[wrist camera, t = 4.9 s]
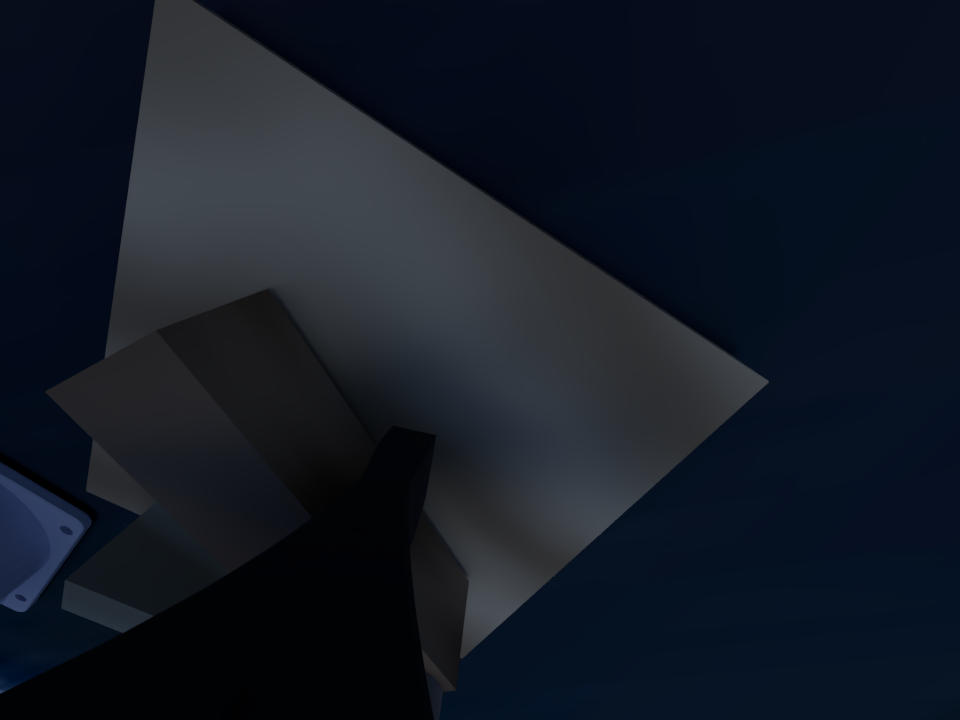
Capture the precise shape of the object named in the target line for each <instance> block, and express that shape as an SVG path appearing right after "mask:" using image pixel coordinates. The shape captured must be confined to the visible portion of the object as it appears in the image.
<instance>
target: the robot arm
mask: <svg viewBox="0 0 960 720" xmlns="http://www.w3.org/2000/svg"><path fill="white" fill-rule="evenodd" d="M435 439H436V435H433V434H429V433H424V432H420V431H415V430H410V429H406V428H401V427H397V426H393V427H392V428H391V429H390V430H389V431H388V432H387V433H386V434H385V436H384V437H383V438H382V439H381V441H380V442H379V444H378V446H377V447H376V449H375V451H374V453H373V455H372V457H371V459H370V461H369V463H368V465H367V467H366V469H365V471H364V473H363V475H362V477H361V479H359V480H358V481H357V482H356V483H355V484H354V485H353V486H351V487H350V488H349V489H348V490H347V491H345V492H344V493H343V494H342V495H340V496H339V497H338V498H337V499H335V500H334V501H333V502H332V503H330V504H329V505H328V506H327V507H325V508H324V509H323V510H322V511H320V512H319V513H318V514H316V515H315V516H314V517H312V518H311V519H310V520H308V521H307V522H306V523H304V524H303V525H301V526H300V527H299V528H297V529H296V530H294V531H293V532H292V533H290V534H289V535H287V536H286V537H284V538H283V539H281V540H280V541H278V542H277V543H276V544H274V545H273V546H271V547H270V548H268V549H266V550H265V551H263V552H262V553H260V554H259V555H257V556H255V557H254V558H252V559H251V560H249V561H248V562H246V563H244V564H243V565H241V566H240V567H238V568H237V569H235V570H233V571H232V572H230V573H229V574H227V575H225V576H224V577H222V578H220V579H219V580H217V581H215V582H214V583H212V584H210V585H208V586H207V587H205V588H203V589H202V590H200V591H198V592H196V593H194V594H193V595H191V596H189V597H187V598H185V599H184V600H182V601H180V602H178V603H176V604H174V605H173V606H171V607H169V608H167V609H165V610H164V611H162V612H160V613H158V614H156V615H155V616H153V617H151V618H149V619H147V620H146V621H144V622H142V623H140V624H138V625H136V626H135V627H133V628H131V629H129V630H127V631H125V632H124V633H122V634H120V635H118V636H116V637H114V638H112V639H110V640H108V641H106V642H104V643H102V644H100V645H98V646H96V647H94V648H92V649H90V650H88V651H86V652H84V653H82V654H80V655H78V656H76V657H74V658H72V659H70V660H68V661H66V662H64V663H62V664H60V665H58V666H56V667H54V668H52V669H50V670H48V671H46V672H44V673H42V674H40V675H37V676H35V677H33V678H31V679H29V680H27V681H25V682H23V683H21V684H19V685H17V686H15V687H13V688H11V689H9V690H7V691H5V692H3V693H1V694H0V720H434V717H433V711H432V706H431V701H430V695H429V690H428V685H427V679H426V674H425V667H424V661H423V654H422V648H421V641H420V635H419V628H418V622H417V615H416V607H415V598H414V589H413V580H412V569H411V556H410V546H411V544H412V541H413V538H414V536H415V533H416V530H417V526H418V523H419V519H420V516H421V512H422V509H423V505H424V502H425V498H426V494H427V488H428V482H429V476H430V470H431V464H432V458H433V452H434V446H435ZM91 523H92V520H91V518H90V516H89V515H88V514H87V513H85V512H84V511H82V510H80V509H79V508H77V507H75V506H74V505H72V504H70V503H69V502H67V501H65V500H64V499H62V498H60V497H59V496H57V495H55V494H54V493H52V492H50V491H49V490H47V489H45V488H44V487H42V486H40V485H39V484H37V483H35V482H34V481H32V480H30V479H29V478H27V477H25V476H24V475H22V474H20V473H19V472H17V471H15V470H14V469H12V468H10V467H9V466H7V465H5V464H4V463H2V462H0V604H3V605H5V606H7V607H9V608H11V609H13V610H15V611H18V612H24V611H26V610H28V609H29V608H30V607H31V606H32V605H33V604H34V603H35V602H36V601H37V599H38V598H39V596H40V595H41V594H42V592H43V591H44V589H45V588H46V587H47V585H48V584H49V582H50V581H51V580H52V578H53V577H54V576H55V574H56V573H57V571H58V570H59V569H60V567H61V566H62V564H63V563H64V562H65V560H66V559H67V557H68V556H69V555H70V553H71V552H72V550H73V549H74V548H75V546H76V545H77V544H78V542H79V541H80V539H81V538H82V537H83V535H84V534H85V532H86V531H87V530H88V528H89V527H90V525H91Z"/></svg>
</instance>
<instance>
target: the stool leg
mask: <svg viewBox="0 0 960 720" xmlns="http://www.w3.org/2000/svg"><path fill="white" fill-rule="evenodd" d="M45 392H46V393H47V394H48V395H49V396H50V397H51V398H52V399H53V400H54V401H55V402H56V403H57V404H58V405H59V406H60V407H61V408H62V409H63V410H64V411H65V412H66V413H67V414H68V415H69V416H70V417H71V418H72V419H73V420H74V421H75V422H76V423H77V424H78V425H79V426H80V427H81V428H82V429H83V430H84V431H85V432H86V433H87V434H88V435H89V436H90V437H92V438H93V439H94V440H95V441H96V442H97V443H98V444H99V445H100V446H101V447H102V448H103V449H104V450H105V451H106V452H107V453H108V454H109V455H110V456H111V457H112V458H113V459H114V460H115V461H116V462H117V463H118V464H119V465H120V466H121V467H122V468H123V469H124V470H125V471H126V472H127V473H128V474H129V475H130V476H131V477H132V478H133V479H134V480H135V481H136V482H137V483H138V484H139V485H140V486H141V487H142V488H143V489H144V490H146V491H147V492H148V493H149V494H150V495H151V496H152V497H153V498H154V499H155V500H156V501H157V502H158V503H159V504H160V505H161V506H162V507H163V508H164V509H165V510H166V511H167V512H168V513H169V514H170V515H171V516H172V517H173V518H174V519H175V520H176V521H177V522H178V523H179V524H180V525H181V526H182V527H183V528H184V529H185V530H186V531H187V532H188V533H189V534H190V535H191V536H192V537H193V538H194V539H195V540H196V541H197V542H198V543H200V544H201V545H202V546H203V547H204V548H205V549H206V550H207V551H208V552H209V553H210V554H211V555H212V556H213V557H214V558H215V559H216V560H217V561H218V562H219V563H220V564H221V565H222V566H223V567H224V568H225V569H226V570H227V571H228V572H229V573H230V572H232V571H233V570H235V569H237V568H238V567H240V566H241V565H243V564H244V563H246V562H248V561H249V560H251V559H252V558H254V557H255V556H257V555H259V554H260V553H262V552H263V551H265V550H266V549H268V548H270V547H271V546H273V545H274V544H276V543H277V542H278V541H280V540H281V539H283V538H284V537H286V536H287V535H289V534H290V533H292V532H293V531H294V530H296V529H297V528H299V527H300V526H301V525H303V524H304V523H306V522H307V521H308V520H310V519H311V518H312V517H314V516H315V515H316V514H318V513H319V512H320V511H322V510H323V509H324V508H325V507H327V506H328V505H329V504H330V503H332V502H333V501H334V500H335V499H337V498H338V497H339V496H340V495H342V494H343V493H344V492H345V491H347V490H348V489H349V488H350V487H351V486H353V485H354V484H355V483H356V482H357V481H358V480H359V479H361V477H362V475H363V473H364V471H365V469H366V467H367V465H368V463H369V461H370V459H371V457H372V455H373V453H374V451H375V449H376V445H375V444H374V442H373V441H372V439H371V438H370V436H369V435H368V433H367V432H366V430H365V429H364V428H363V426H362V425H361V423H360V422H359V420H358V419H357V417H356V416H355V414H354V413H353V412H352V410H351V409H350V407H349V406H348V404H347V403H346V401H345V400H344V398H343V397H342V395H341V394H340V393H339V391H338V390H337V388H336V387H335V385H334V384H333V382H332V381H331V379H330V378H329V377H328V375H327V374H326V372H325V371H324V369H323V368H322V366H321V365H320V363H319V362H318V360H317V359H316V358H315V356H314V355H313V353H312V352H311V350H310V349H309V347H308V346H307V344H306V343H305V342H304V340H303V339H302V337H301V336H300V334H299V333H298V331H297V330H296V328H295V327H294V325H293V324H292V323H291V321H290V320H289V318H288V317H287V315H286V314H285V312H284V311H283V309H282V308H281V306H280V305H279V304H278V302H277V301H276V299H275V298H274V296H273V295H272V293H271V292H270V290H269V289H265V290H262V291H260V292H257V293H254V294H252V295H249V296H246V297H244V298H241V299H238V300H236V301H233V302H230V303H228V304H225V305H222V306H220V307H217V308H214V309H211V310H209V311H206V312H203V313H201V314H198V315H195V316H193V317H190V318H187V319H185V320H182V321H179V322H177V323H174V324H171V325H168V326H166V327H163V328H160V329H158V330H155V331H153V332H152V333H150V334H148V335H146V336H144V337H143V338H141V339H139V340H137V341H135V342H134V343H132V344H130V345H128V346H126V347H125V348H123V349H121V350H119V351H117V352H116V353H114V354H112V355H110V356H108V357H107V358H105V359H103V360H101V361H99V362H98V363H96V364H94V365H92V366H90V367H89V368H87V369H85V370H83V371H81V372H80V373H78V374H76V375H74V376H72V377H71V378H69V379H67V380H65V381H63V382H62V383H60V384H58V385H56V386H54V387H53V388H51V389H49V390H47V391H45ZM410 556H411V569H412V580H413V589H414V598H415V607H416V615H417V622H418V628H419V635H420V641H421V648H422V654H423V661H424V667H425V674H426V679H427V685H428V690H429V695H430V701H431V706H432V711H433V717H434V720H439V715H440V708H441V701H442V695H443V692H446V691H453V690H456V686H457V677H458V669H459V661H460V652H461V644H462V636H463V627H464V619H465V611H466V602H467V594H468V586H469V581H468V579H467V578H466V576H465V575H464V573H463V572H462V571H461V569H460V568H459V566H458V565H457V563H456V562H455V560H454V559H453V557H452V556H451V554H450V553H449V552H448V550H447V549H446V547H445V546H444V544H443V543H442V541H441V540H440V538H439V537H438V536H437V534H436V533H435V531H434V530H433V528H432V527H431V525H430V524H429V522H428V521H427V519H426V518H425V517H424V515H423V514H422V512H421V516H420V519H419V523H418V526H417V530H416V533H415V536H414V538H413V541H412V544H411V546H410Z"/></svg>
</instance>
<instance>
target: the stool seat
mask: <svg viewBox="0 0 960 720" xmlns="http://www.w3.org/2000/svg"><path fill="white" fill-rule="evenodd" d="M265 289H269V290H270V292H271V293H272V295H273V296H274V298H275V299H276V301H277V302H278V304H279V305H280V306H281V308H282V309H283V311H284V312H285V314H286V315H287V317H288V318H289V320H290V321H291V323H292V324H293V325H294V327H295V328H296V330H297V331H298V333H299V334H300V336H301V337H302V339H303V340H304V342H305V343H306V344H307V346H308V347H309V349H310V350H311V352H312V353H313V355H314V356H315V358H316V359H317V360H318V362H319V363H320V365H321V366H322V368H323V369H324V371H325V372H326V374H327V375H328V377H329V378H330V379H331V381H332V382H333V384H334V385H335V387H336V388H337V390H338V391H339V393H340V394H341V395H342V397H343V398H344V400H345V401H346V403H347V404H348V406H349V407H350V409H351V410H352V412H353V413H354V414H355V416H356V417H357V419H358V420H359V422H360V423H361V425H362V426H363V428H364V429H365V430H366V432H367V433H368V435H369V436H370V438H371V439H372V441H373V442H374V444H375V445H376V447H377V446H378V444H379V442H380V441H381V439H382V438H383V437H384V436H385V434H386V433H387V432H388V431H389V430H390V429H391V428H392V427H393V426H397V427H401V428H406V429H410V430H415V431H420V432H424V433H429V434H433V435H436V439H435V446H434V452H433V458H432V464H431V470H430V476H429V482H428V488H427V494H426V498H425V502H424V505H423V509H422V514H423V515H424V517H425V518H426V519H427V521H428V522H429V524H430V525H431V527H432V528H433V530H434V531H435V533H436V534H437V536H438V537H439V538H440V540H441V541H442V543H443V544H444V546H445V547H446V549H447V550H448V552H449V553H450V554H451V556H452V557H453V559H454V560H455V562H456V563H457V565H458V566H459V568H460V569H461V571H462V572H463V573H464V575H465V576H466V578H467V579H468V581H469V586H468V594H467V602H466V611H465V619H464V627H463V636H462V644H461V652H460V658H463V657H464V656H465V655H466V654H468V653H469V652H470V651H471V650H472V649H473V648H474V647H475V646H476V645H478V644H479V643H480V642H481V641H482V640H483V639H484V638H485V637H486V636H488V635H489V634H490V633H491V632H492V631H493V630H494V629H495V628H496V627H498V626H499V625H500V624H501V623H502V622H503V621H504V620H505V619H506V618H508V617H509V616H510V615H511V614H512V613H513V612H514V611H515V610H516V609H518V608H519V607H520V606H521V605H522V604H523V603H524V602H525V601H526V600H528V599H529V598H530V597H531V596H532V595H533V594H534V593H535V592H536V591H538V590H539V589H540V588H541V587H542V586H543V585H544V584H545V583H546V582H547V581H549V580H550V579H551V578H552V577H553V576H554V575H555V574H556V573H557V572H559V571H560V570H561V569H562V568H563V567H564V566H565V565H566V564H567V563H569V562H570V561H571V560H572V559H573V558H574V557H575V556H576V555H577V554H579V553H580V552H581V551H582V550H583V549H584V548H585V547H586V546H587V545H589V544H590V543H591V542H592V541H593V540H594V539H595V538H596V537H597V536H599V535H600V534H601V533H602V532H603V531H604V530H605V529H606V528H607V527H609V526H610V525H611V524H612V523H613V522H614V521H615V520H616V519H617V518H618V517H620V516H621V515H622V514H623V513H624V512H625V511H626V510H627V509H628V508H630V507H631V506H632V505H633V504H634V503H635V502H636V501H637V500H638V499H640V498H641V497H642V496H643V495H644V494H645V493H646V492H647V491H648V490H650V489H651V488H652V487H653V486H654V485H655V484H656V483H657V482H658V481H660V480H661V479H662V478H663V477H664V476H665V475H666V474H667V473H668V472H670V471H671V470H672V469H673V468H674V467H675V466H676V465H677V464H678V463H680V462H681V461H682V460H683V459H684V458H685V457H686V456H687V455H688V454H689V453H691V452H692V451H693V450H694V449H695V448H696V447H697V446H698V445H699V444H701V443H702V442H703V441H704V440H705V439H706V438H707V437H708V436H709V435H711V434H712V433H713V432H714V431H715V430H716V429H717V428H718V427H719V426H721V425H722V424H723V423H724V422H725V421H726V420H727V419H728V418H729V417H731V416H732V415H733V414H734V413H735V412H736V411H737V410H738V409H739V408H741V407H742V406H743V405H744V404H745V403H746V402H747V401H748V400H749V399H751V398H752V397H753V396H754V395H755V394H756V393H757V392H758V391H759V390H760V389H762V388H763V387H764V386H765V385H766V384H767V383H768V382H769V381H767V380H766V379H765V378H763V377H762V376H761V375H759V374H758V373H757V372H755V371H754V370H752V369H751V368H750V367H748V366H747V365H746V364H744V363H743V362H741V361H740V360H739V359H737V358H736V357H735V356H733V355H732V354H730V353H729V352H727V351H725V350H724V349H722V348H721V347H719V346H718V345H716V344H715V343H713V342H712V341H710V340H709V339H707V338H706V337H704V336H703V335H701V334H700V333H698V332H697V331H695V330H694V329H692V328H691V327H689V326H688V325H686V324H685V323H683V322H682V321H680V320H679V319H677V318H676V317H674V316H673V315H671V314H670V313H668V312H667V311H665V310H664V309H662V308H661V307H659V306H658V305H656V304H655V303H653V302H652V301H650V300H648V299H647V298H645V297H644V296H642V295H641V294H639V293H638V292H636V291H635V290H633V289H632V288H630V287H629V286H627V285H626V284H624V283H623V282H621V281H620V280H618V279H617V278H615V277H614V276H612V275H611V274H609V273H608V272H606V271H605V270H603V269H602V268H600V267H599V266H597V265H596V264H594V263H593V262H591V261H590V260H588V259H587V258H585V257H584V256H582V255H581V254H579V253H578V252H576V251H575V250H573V249H571V248H570V247H568V246H567V245H565V244H564V243H562V242H561V241H559V240H558V239H556V238H555V237H553V236H552V235H550V234H549V233H547V232H546V231H544V230H543V229H541V228H540V227H538V226H537V225H535V224H534V223H532V222H531V221H529V220H528V219H526V218H525V217H523V216H522V215H520V214H519V213H517V212H516V211H514V210H513V209H511V208H510V207H508V206H507V205H505V204H504V203H502V202H501V201H499V200H498V199H496V198H494V197H493V196H491V195H490V194H488V193H487V192H485V191H484V190H482V189H481V188H479V187H478V186H476V185H475V184H473V183H472V182H470V181H469V180H467V179H466V178H464V177H463V176H461V175H460V174H458V173H457V172H455V171H454V170H452V169H451V168H449V167H448V166H446V165H445V164H443V163H442V162H440V161H439V160H437V159H436V158H434V157H433V156H431V155H430V154H428V153H427V152H425V151H424V150H422V149H421V148H419V147H417V146H416V145H414V144H413V143H411V142H410V141H408V140H407V139H405V138H404V137H402V136H401V135H399V134H398V133H396V132H395V131H393V130H392V129H390V128H389V127H387V126H386V125H384V124H383V123H381V122H380V121H378V120H377V119H375V118H374V117H372V116H371V115H369V114H368V113H366V112H365V111H363V110H362V109H360V108H359V107H357V106H356V105H354V104H353V103H351V102H350V101H348V100H347V99H345V98H344V97H342V96H340V95H339V94H337V93H336V92H334V91H333V90H331V89H330V88H328V87H327V86H325V85H324V84H322V83H321V82H319V81H318V80H316V79H315V78H313V77H312V76H310V75H309V74H307V73H306V72H304V71H303V70H301V69H300V68H298V67H297V66H295V65H294V64H292V63H291V62H289V61H288V60H286V59H285V58H283V57H282V56H280V55H279V54H277V53H276V52H274V51H273V50H271V49H270V48H268V47H266V46H265V45H263V44H262V43H260V42H259V41H257V40H256V39H254V38H253V37H251V36H250V35H248V34H247V33H245V32H244V31H242V30H241V29H239V28H238V27H236V26H235V25H233V24H232V23H230V22H229V21H227V20H226V19H224V18H223V17H221V16H220V15H218V14H216V13H215V12H213V11H212V10H210V9H208V8H207V7H205V6H203V5H202V4H200V3H199V2H197V1H195V0H155V5H154V13H153V20H152V27H151V34H150V41H149V48H148V55H147V62H146V69H145V76H144V83H143V90H142V98H141V105H140V112H139V119H138V126H137V133H136V140H135V147H134V154H133V161H132V168H131V175H130V182H129V190H128V197H127V204H126V211H125V218H124V225H123V232H122V239H121V246H120V253H119V260H118V267H117V275H116V282H115V289H114V296H113V303H112V310H111V317H110V324H109V331H108V338H107V345H106V352H105V358H107V357H108V356H110V355H112V354H114V353H116V352H117V351H119V350H121V349H123V348H125V347H126V346H128V345H130V344H132V343H134V342H135V341H137V340H139V339H141V338H143V337H144V336H146V335H148V334H150V333H152V332H153V331H155V330H158V329H160V328H163V327H166V326H168V325H171V324H174V323H177V322H179V321H182V320H185V319H187V318H190V317H193V316H195V315H198V314H201V313H203V312H206V311H209V310H211V309H214V308H217V307H220V306H222V305H225V304H228V303H230V302H233V301H236V300H238V299H241V298H244V297H246V296H249V295H252V294H254V293H257V292H260V291H262V290H265ZM86 491H87V492H89V493H92V494H94V495H96V496H98V497H101V498H103V499H105V500H107V501H110V502H112V503H114V504H116V505H119V506H121V507H123V508H125V509H128V510H130V511H132V512H134V513H137V514H139V515H141V516H139V517H138V518H137V519H136V520H135V521H134V522H132V523H131V524H130V525H129V526H128V527H126V528H125V529H124V530H123V531H122V532H121V533H119V534H118V535H117V536H116V537H115V538H114V539H112V540H111V541H110V542H109V543H108V544H107V545H105V546H104V547H103V548H102V549H101V550H99V551H98V552H97V553H96V554H95V555H94V556H92V557H91V558H90V559H89V560H88V561H87V562H85V563H84V564H83V565H82V566H81V567H80V568H78V569H77V570H76V571H75V572H74V573H72V574H71V575H70V576H69V577H68V578H67V579H65V584H64V592H63V600H62V609H64V610H67V611H69V612H72V613H74V614H77V615H79V616H82V617H84V618H87V619H89V620H92V621H94V622H97V623H99V624H102V625H104V626H107V627H110V628H112V629H115V630H117V631H120V632H122V633H124V632H125V631H127V630H129V629H131V628H133V627H135V626H136V625H138V624H140V623H142V622H144V621H146V620H147V619H149V618H151V617H153V616H155V615H156V614H158V613H160V612H162V611H164V610H165V609H167V608H169V607H171V606H173V605H174V604H176V603H178V602H180V601H182V600H184V599H185V598H187V597H189V596H191V595H193V594H194V593H196V592H198V591H200V590H202V589H203V588H205V587H207V586H208V585H210V584H212V583H214V582H215V581H217V580H219V579H220V578H222V577H224V576H225V575H227V574H229V572H228V571H227V570H226V569H225V568H224V567H223V566H222V565H221V564H220V563H219V562H218V561H217V560H216V559H215V558H214V557H213V556H212V555H211V554H210V553H209V552H208V551H207V550H206V549H205V548H204V547H203V546H202V545H201V544H200V543H198V542H197V541H196V540H195V539H194V538H193V537H192V536H191V535H190V534H189V533H188V532H187V531H186V530H185V529H184V528H183V527H182V526H181V525H180V524H179V523H178V522H177V521H176V520H175V519H174V518H173V517H172V516H171V515H170V514H169V513H168V512H167V511H166V510H165V509H164V508H163V507H162V506H161V505H160V504H159V503H158V502H157V501H156V500H155V499H154V498H153V497H152V496H151V495H150V494H149V493H148V492H147V491H146V490H144V489H143V488H142V487H141V486H140V485H139V484H138V483H137V482H136V481H135V480H134V479H133V478H132V477H131V476H130V475H129V474H128V473H127V472H126V471H125V470H124V469H123V468H122V467H121V466H120V465H119V464H118V463H117V462H116V461H115V460H114V459H113V458H112V457H111V456H110V455H109V454H108V453H107V452H106V451H105V450H104V449H103V448H102V447H101V446H100V445H99V444H98V443H97V442H96V441H95V440H94V439H93V444H92V452H91V459H90V466H89V473H88V480H87V487H86Z"/></svg>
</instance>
